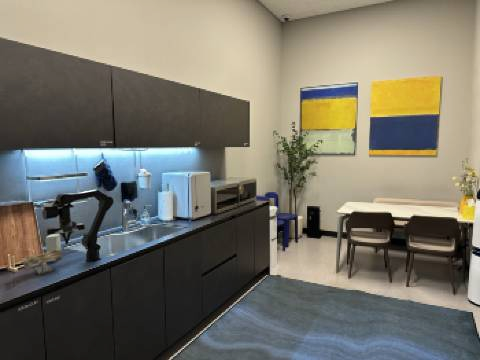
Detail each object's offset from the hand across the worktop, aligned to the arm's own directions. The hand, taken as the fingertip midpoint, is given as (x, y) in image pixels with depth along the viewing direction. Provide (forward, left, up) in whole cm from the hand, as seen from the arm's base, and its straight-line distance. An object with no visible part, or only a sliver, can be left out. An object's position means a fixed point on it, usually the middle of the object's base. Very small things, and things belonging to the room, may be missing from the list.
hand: (66, 243), depth 187 cm
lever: (+9, -7, -9) cm, 15 cm away
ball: (+14, -9, -5) cm, 18 cm away
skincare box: (-5, -20, -13) cm, 24 cm away
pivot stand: (+9, -7, -13) cm, 18 cm away
